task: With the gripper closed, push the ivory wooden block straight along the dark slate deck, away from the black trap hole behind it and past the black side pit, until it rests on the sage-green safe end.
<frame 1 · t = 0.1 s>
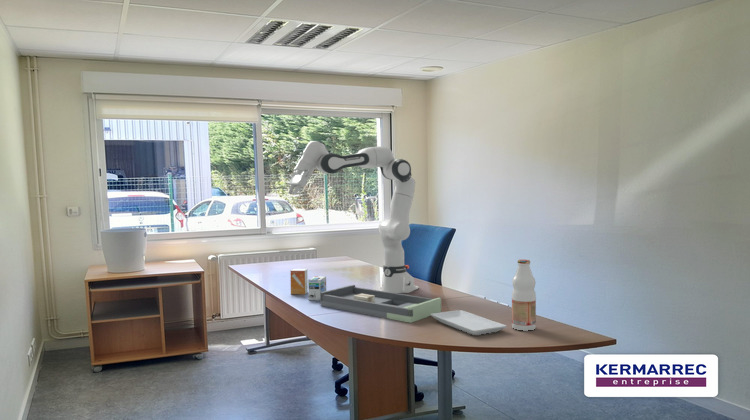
hand: (291, 194, 281), 54 cm above the table, tool tilted 30°, fingers open, 8 cm apart
tray: (466, 327, 232), on the table
light bulb box: (317, 298, 290), on the table
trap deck: (379, 308, 265), on the table
fruit juice: (523, 329, 228), on the table
small box: (299, 293, 303), on the table
block: (364, 303, 264), point 2 cm above the table, touching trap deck
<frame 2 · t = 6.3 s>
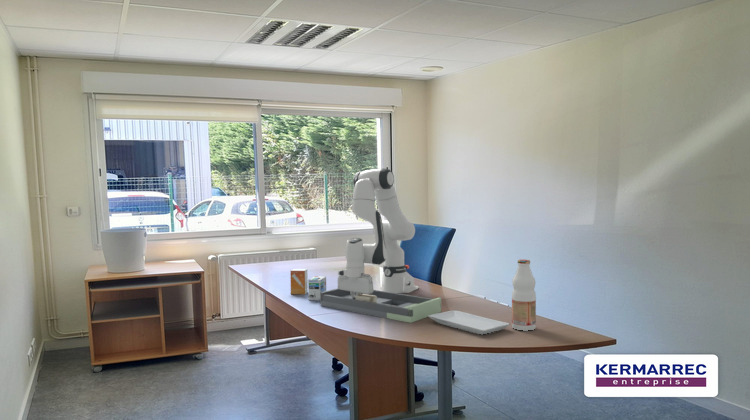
hand: (355, 301, 267), 3 cm above the table, tool pointing down, fingers closed
block: (366, 304, 263), point 3 cm above the table, touching gripper
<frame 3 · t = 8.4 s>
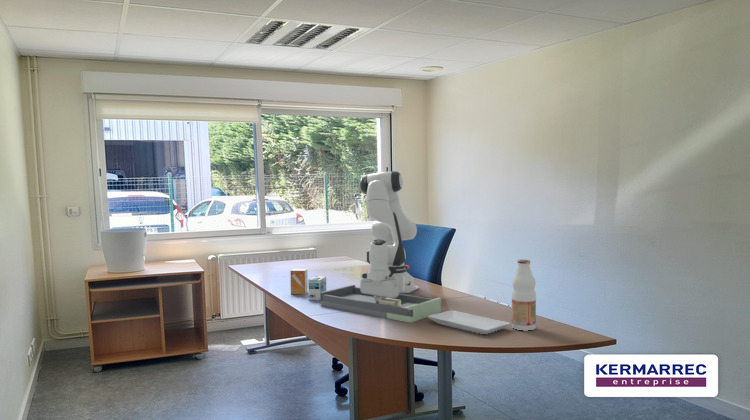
hand: (379, 305, 258), 3 cm above the table, tool pointing down, fingers closed
block: (390, 308, 254), point 3 cm above the table, touching gripper
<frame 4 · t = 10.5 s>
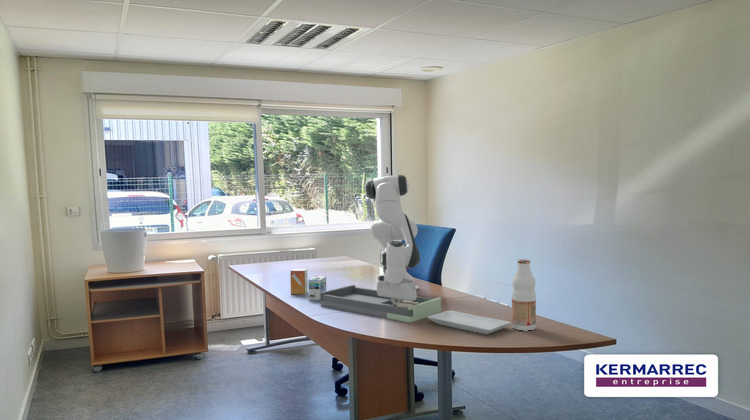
hand: (396, 308, 252), 3 cm above the table, tool pointing down, fingers closed
block: (407, 311, 248), point 2 cm above the table, touching gripper, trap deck
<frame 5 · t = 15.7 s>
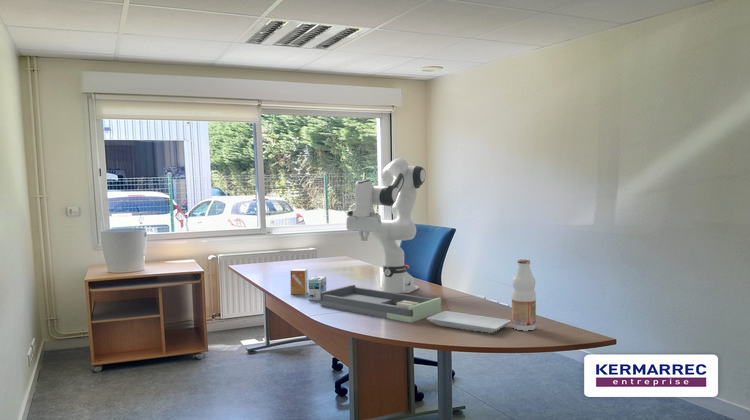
hand: (364, 240, 275), 31 cm above the table, tool pointing down, fingers closed
block: (407, 311, 248), point 2 cm above the table, touching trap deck
at the end: block inside the target area (0.6 cm from its centre), point 2.5 cm above the table; block tilted 0° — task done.
